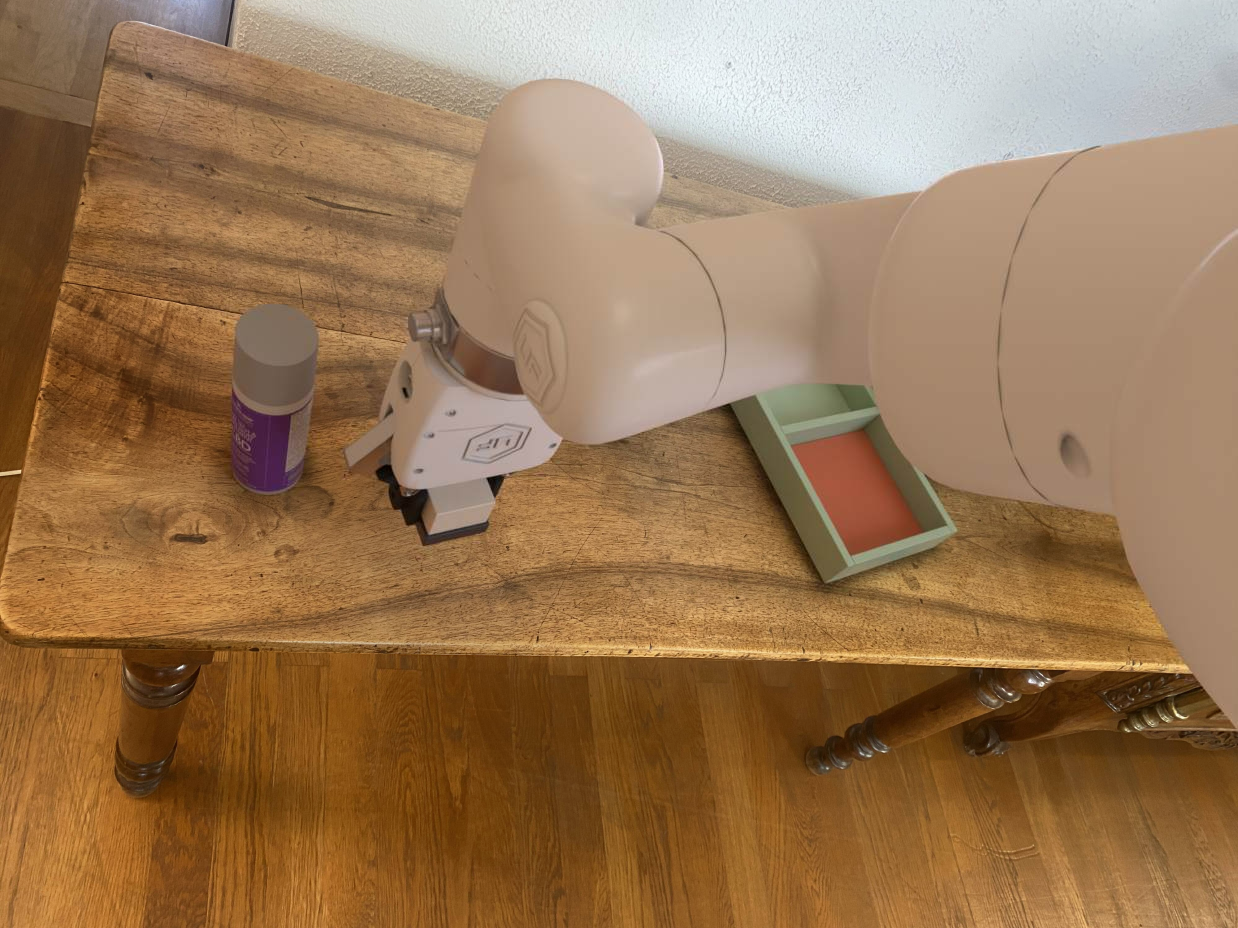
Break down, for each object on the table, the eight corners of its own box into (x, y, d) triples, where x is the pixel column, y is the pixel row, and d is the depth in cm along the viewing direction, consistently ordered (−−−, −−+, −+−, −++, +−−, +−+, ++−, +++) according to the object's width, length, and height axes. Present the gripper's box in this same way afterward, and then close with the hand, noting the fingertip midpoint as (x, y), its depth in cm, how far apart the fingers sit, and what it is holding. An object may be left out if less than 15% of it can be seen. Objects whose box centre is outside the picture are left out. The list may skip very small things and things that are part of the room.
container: (217, 476, 60) (215, 342, 48) (254, 427, 62) (261, 288, 51) (281, 506, 60) (295, 381, 48) (315, 456, 63) (336, 326, 51)
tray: (800, 322, 90) (819, 299, 87) (932, 547, 81) (958, 530, 78) (693, 335, 83) (710, 312, 81) (824, 583, 74) (848, 566, 71)
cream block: (485, 532, 59) (500, 504, 55) (422, 547, 56) (434, 518, 53) (443, 421, 62) (454, 389, 59) (382, 431, 60) (390, 398, 57)
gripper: (364, 409, 38) (328, 578, 53) (678, 363, 47) (573, 520, 61) (319, 279, 41) (296, 473, 56) (623, 257, 49) (535, 431, 64)
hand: (442, 496), depth 58 cm, fingers closed on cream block, 4 cm apart
